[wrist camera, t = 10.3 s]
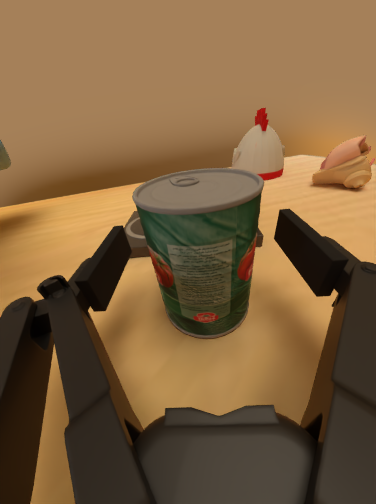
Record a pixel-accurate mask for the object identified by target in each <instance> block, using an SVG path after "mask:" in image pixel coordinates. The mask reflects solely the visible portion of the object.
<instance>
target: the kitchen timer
mask: <svg viewBox="0 0 376 504" xmlns="http://www.w3.org/2000/svg"><path fill="white" fill-rule="evenodd" d="M265 109H266V108H262V109H260V110H258V111H257V116H255V126H254V127H253V128H252V129H251V130H249V131H248V133H247V134H246V135H245V136H244V138H243V139H242V140H241V142H240V144H239V146H238V148H235V149H234V155H233V160H232V163H233V164H232V169H240V170H246V171H250V172H253V173H255V174H258V175H259V176H260V177H262V179H263V180H269V179H274V178H277V177H279V176H281V175H282V173H283V167H284V153H285V146H282V145H281V141H280V139H279V137H278V135H277V133H276V132H275V131H274V130H273V129H272V128H271V127H270V126H268V125H267V124H268V120H266V118H267V113H266V114H265Z"/></svg>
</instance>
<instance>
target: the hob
mask: <svg viewBox="0 0 376 504" xmlns="http://www.w3.org/2000/svg"><path fill="white" fill-rule="evenodd" d="M124 231H125V233H126V236H127V239H128V242H129V245H130V247H131V250H132V253H131V255H130V257H129V258H133V257H144V256H150V252H149V249H148V246H147V242H146V238H145V236H144V231H143V228H142V226H141V222H140V218H139V214H138V211H134V212H133V214H132V216H131V217H130V219H129V221H128V222H127V224H126V225H125V227H124ZM262 242H263V234H262V233H261V231H260V230H259V228H258V229H257V237H256V246H262Z"/></svg>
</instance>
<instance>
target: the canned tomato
mask: <svg viewBox="0 0 376 504" xmlns="http://www.w3.org/2000/svg"><path fill="white" fill-rule="evenodd" d="M263 186H264V181H263V179H262V177H260V176H259V175H258V174H255V173H253V172H250V171H246V170H240V169H230V168H208V169H196V170H188V171H182V172H177V173H172V174H168V175H164V176H161V177H158V178H155V179H152V180H150V181H147V182H145V183H143V184H142V185H140V186H139V187H137V188H136V189H135V191H134V192H133V200H134V202H135V204H136V207H137V211H138V214H139V218H140V222H141V226H142V228H143V231H144V236H145V238H146V242H147V246H148V249H149V252H150V256H151V259H152V264H153V266H154V269H155V273H156V276H157V280H158V283H159V287H160V290H161V294H162V296H163V301H164V303H165V307H166V312H167V315H168V317H169V319H170V321H171V322H172V323H173V325H174V326H175V327H177V328H178V329H179V330H180V331H182V332H184V333H185V334H187V335H190V336H193V337H197V338H205V339H206V338H217V337H220V336H224V335H226V334H228V333H230V332H232V331H234V330H235V329H236V328H237V327H239V326H240V324H241V323H242V322H243V321H244V319H245V317H246V314H247V312H248V306H249V302H248V300H249V294H250V287H251V279H252V271H253V263H254V261H253V260H254V255H255V252H254V251H255V246H256V237H257V229H258V218H259V214H260V202H261V193H262V190H263Z"/></svg>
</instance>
